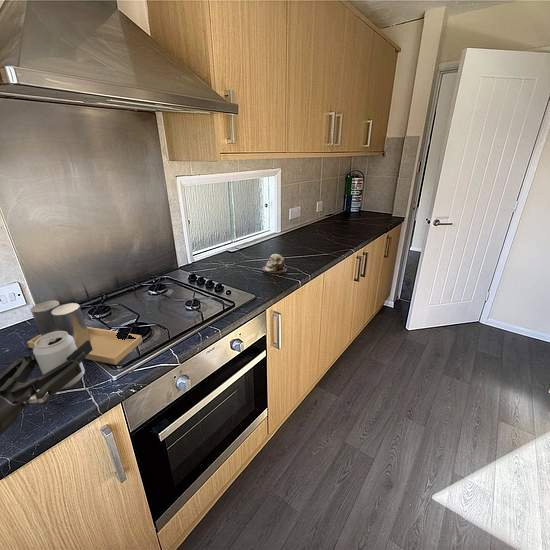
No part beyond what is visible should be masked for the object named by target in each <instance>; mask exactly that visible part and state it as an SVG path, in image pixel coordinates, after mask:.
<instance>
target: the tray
mask: <svg viewBox="0 0 550 550" xmlns="http://www.w3.org/2000/svg"><path fill="white" fill-rule="evenodd" d="M86 327H87V329H88V332H89V335H90V343H91V346H92V349H93V350H92V351H91V352H90V353H89V354H88V355H87V356H86V358H85V359H84V360H89V361H90V360H91V361H94V362H101V363H104V364H110V365H115V366H117V365H119V364H120V362H121V361H123V360H124V359H126V358H127V357H128V355H129V354H131V353H132V352H134V350H135V349H136V348H137V347H139V346H140V345H141V344H143V337H142V334H141V335H140V334H134V333H129V334H128V335H131V336H132V337H134V338H136V339H125V340H124V339H123V340H122V339H118V338H117V336H116V335H117V333H118V332H119V331H116V330H109V329H104V328H97V327H90V326H86ZM40 337H41V334H40V333H39V335H36V336H35V337H33V338H31V339H30V340H28V341H27V342H26V343H27V345H28V347H29V348H31V349H34V347H35V346H34V343H35V341H36V340H37V339H38V338H40ZM77 349H78V348H77Z"/></svg>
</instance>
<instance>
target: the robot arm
mask: <svg viewBox="0 0 550 550" xmlns="http://www.w3.org/2000/svg"><path fill="white" fill-rule="evenodd" d="M92 350H93V349H92V346H91V343H90V341H88V340H87V341H86V342H85V343H83V344H82V345H81V346H80V347H79V348H78V349H77V350H75V351H74V352H73V353H72V354H71V355H70V356H69V357H67V360H68V361H66V362H64V363H63V364H61V365H59V366H58V367H56V368H54V369H52V370H51V371H49V372H47V373H45V374H44V375H43V374H42V375H39V377H32V378H31V379H29V377H30V376H31V375H32V373H33V371H34V370H35V368H36V366H37V367H39V365H38V362H37V360H36V358H35V355H34V354H33V355H31V353H30V354H26V355H24V356H23V358H24V359H23V358H18V359H16V360H15V361H14V362H12V363H11V364H10V365H9V366H8V367H7V368H5V369H4V370H3V371H2V372H1V373H0V436H2V435H3V434H4V433H5V432H6V431H7V430H9V428H10V427H12V425H13V424H15V422H16V421H17V420H18V418H19V415H20V412H21V411H22V410H24V409H26V408H27V407H29V406H30V405H31V404H37V403H38V404H39V406H40V407H43V406H45V405H47V404H48V402H49V401H50V400H51V398H52V397H53V396H54V395H56V394H57V393H58V392H59V391H60V390H63V389H62V388H63V387H64V386H65V385H66V384H68V383H69V382H70V381H71V380H72V379H74V378H75V377H76V376H77V375H78V374H80V373H81V372H82V370H81V367H80V365H79V364H80V363H81V362H82V363H83V361H84V360H86V359H85V358H86V356H87V355H88V354H89V353H90V352H91V351H92ZM28 379H29V380H28Z"/></svg>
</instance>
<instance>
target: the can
mask: <svg viewBox="0 0 550 550" xmlns="http://www.w3.org/2000/svg"><path fill="white" fill-rule="evenodd" d="M34 346H35V347H34V348H32V353H33V356H34V355H35V358H36V360H37V362H38V365H39V366H38V367H39V369H40V371H41V374H42V375H44V374H45V373H47V372H49V371H51V370H52V369H54V368H56V367H58V366H59V365H61V364H63V363H64V362H66V361H68V360H67V357H69V356H70V355H71V354H72V353H73V352H74V351H75V350H77V347H76V345H75V342H74V339H73V337H72V336H71V335H68V333H67V332H65V331H55V332H51V333H48V334H46V335H43V336H42V337H40V338H38V339H37V340H36V341H35V343H34ZM79 365H80V367H81V370H82V372H81V373H80V374H78V375H77V376H76V377H75V378H74V379H72V380H71V381H70V382H69V383H68V384H66V385H65V386H64V387H63V388H62V389H61V390H63V389H68V388H69V387H72V386H74V385H75V384H77V383H78V382H79V381H80V380H81V379H82V378H83V376H84V375H85V372H86V370H85V367H84V363H83V361H82V362H81V363H80V364H79Z"/></svg>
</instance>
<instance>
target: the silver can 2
mask: <svg viewBox="0 0 550 550" xmlns="http://www.w3.org/2000/svg"><path fill="white" fill-rule="evenodd" d="M51 314H52V317H53V319H54V322H55V324H56V327H57V330H58V331H65V332H67V333H68V335H71V336H72V337H73V339H74V342H75V345H76V347H77V348H79V347H80V346H81V345H82V344H83V343H85V342H86V341H87V340H88V341H90V335H89V332H88V329H87V327H88V326H87V324H86V321H85V318H84V314H83V312H82V309H81V306H80V304H79V303H75V302H69V303H64V304H60V306H59V307H57V308H55V309H53V310H52V312H51Z"/></svg>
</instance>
